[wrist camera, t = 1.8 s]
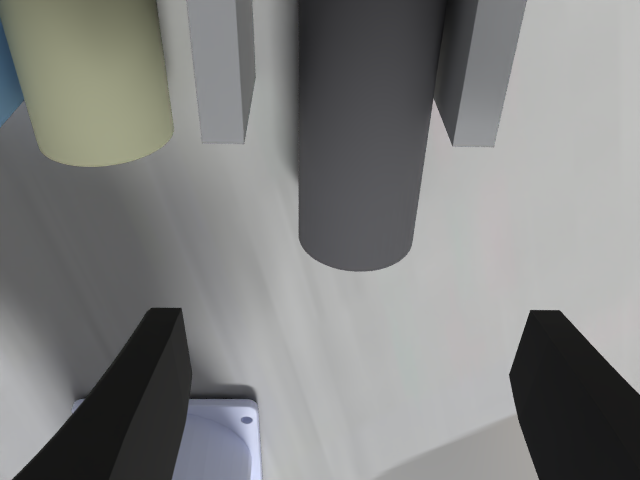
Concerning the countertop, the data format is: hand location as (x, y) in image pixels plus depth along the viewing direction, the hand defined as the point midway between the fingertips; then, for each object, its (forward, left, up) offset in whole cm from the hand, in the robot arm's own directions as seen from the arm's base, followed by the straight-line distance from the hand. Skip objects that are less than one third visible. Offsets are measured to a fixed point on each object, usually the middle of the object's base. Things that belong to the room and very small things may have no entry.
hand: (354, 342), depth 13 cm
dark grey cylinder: (+3, 0, -8) cm, 9 cm away
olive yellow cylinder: (+4, +6, -8) cm, 11 cm away
